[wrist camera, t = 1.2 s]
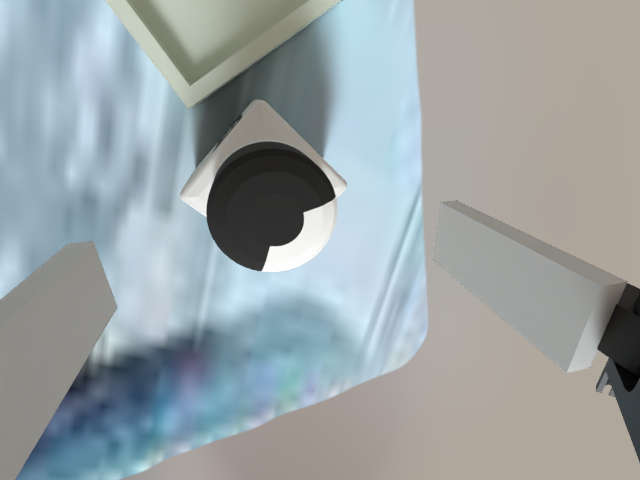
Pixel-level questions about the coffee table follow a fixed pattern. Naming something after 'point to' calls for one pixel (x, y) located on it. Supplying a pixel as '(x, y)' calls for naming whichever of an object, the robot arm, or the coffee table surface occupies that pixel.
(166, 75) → the parts tray
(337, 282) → the coffee table surface
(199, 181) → the container
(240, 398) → the coffee table surface
